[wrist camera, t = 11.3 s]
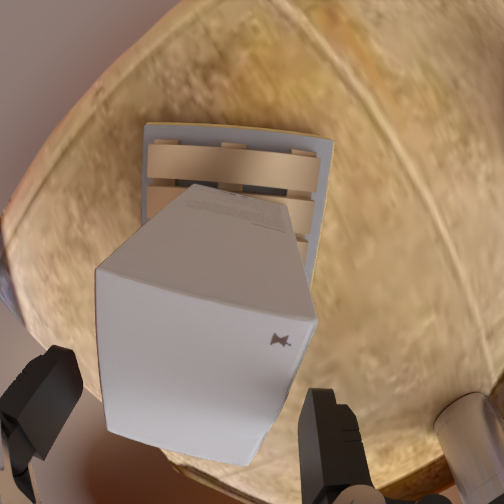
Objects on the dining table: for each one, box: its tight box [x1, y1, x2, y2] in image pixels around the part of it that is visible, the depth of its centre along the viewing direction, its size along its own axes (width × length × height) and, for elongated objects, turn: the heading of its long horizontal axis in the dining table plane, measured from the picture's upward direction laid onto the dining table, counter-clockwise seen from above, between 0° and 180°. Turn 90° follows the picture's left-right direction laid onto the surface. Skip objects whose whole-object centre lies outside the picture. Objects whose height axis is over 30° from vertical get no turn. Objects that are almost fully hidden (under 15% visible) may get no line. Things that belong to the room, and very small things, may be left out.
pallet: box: [147, 139, 321, 267], centre depth 22 cm, size 11×14×2 cm
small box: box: [95, 184, 318, 466], centre depth 15 cm, size 8×6×13 cm
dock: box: [141, 122, 335, 291], centre depth 24 cm, size 13×16×3 cm
